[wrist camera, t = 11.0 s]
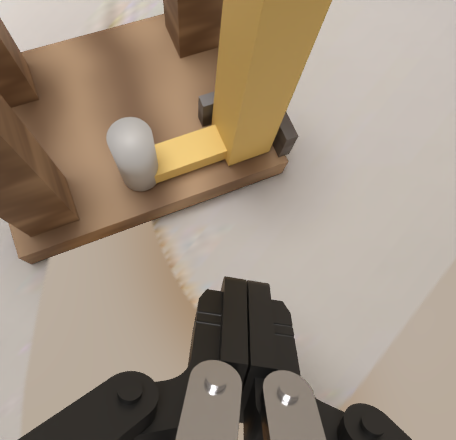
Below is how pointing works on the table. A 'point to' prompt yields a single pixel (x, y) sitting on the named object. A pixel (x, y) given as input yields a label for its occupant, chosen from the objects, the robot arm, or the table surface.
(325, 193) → the table surface
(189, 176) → the wooden pillar stand
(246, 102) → the hinged leg
